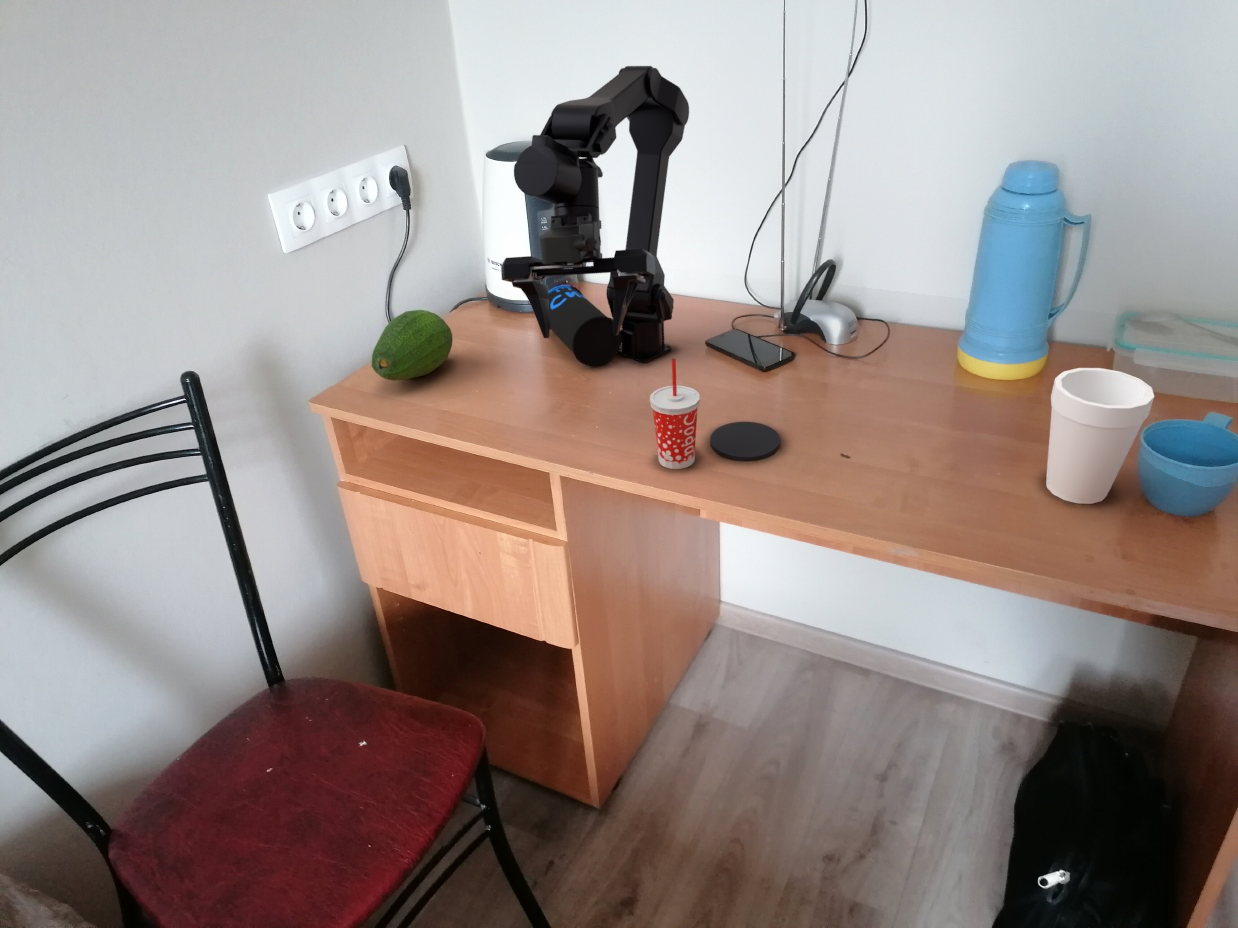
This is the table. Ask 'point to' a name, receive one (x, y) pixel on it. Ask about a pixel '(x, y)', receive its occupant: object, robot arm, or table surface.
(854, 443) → the table surface
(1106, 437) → the foam cup
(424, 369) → the fruit
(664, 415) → the beverage cup
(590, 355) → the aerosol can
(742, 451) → the coaster
